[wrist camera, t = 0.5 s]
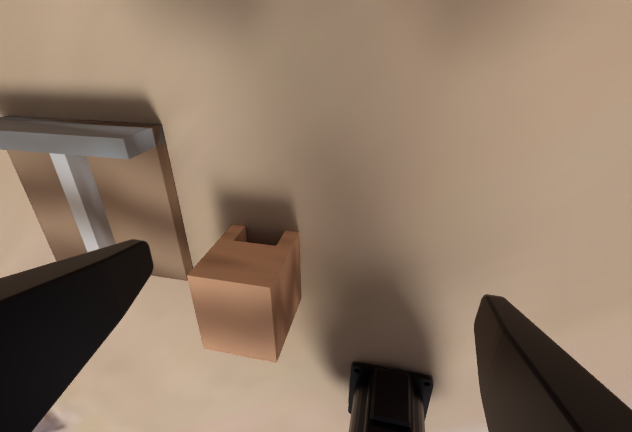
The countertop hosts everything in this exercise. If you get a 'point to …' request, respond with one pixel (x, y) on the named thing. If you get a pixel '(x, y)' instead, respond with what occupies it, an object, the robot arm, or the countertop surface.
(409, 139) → the countertop surface
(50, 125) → the board
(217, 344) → the tan cube
